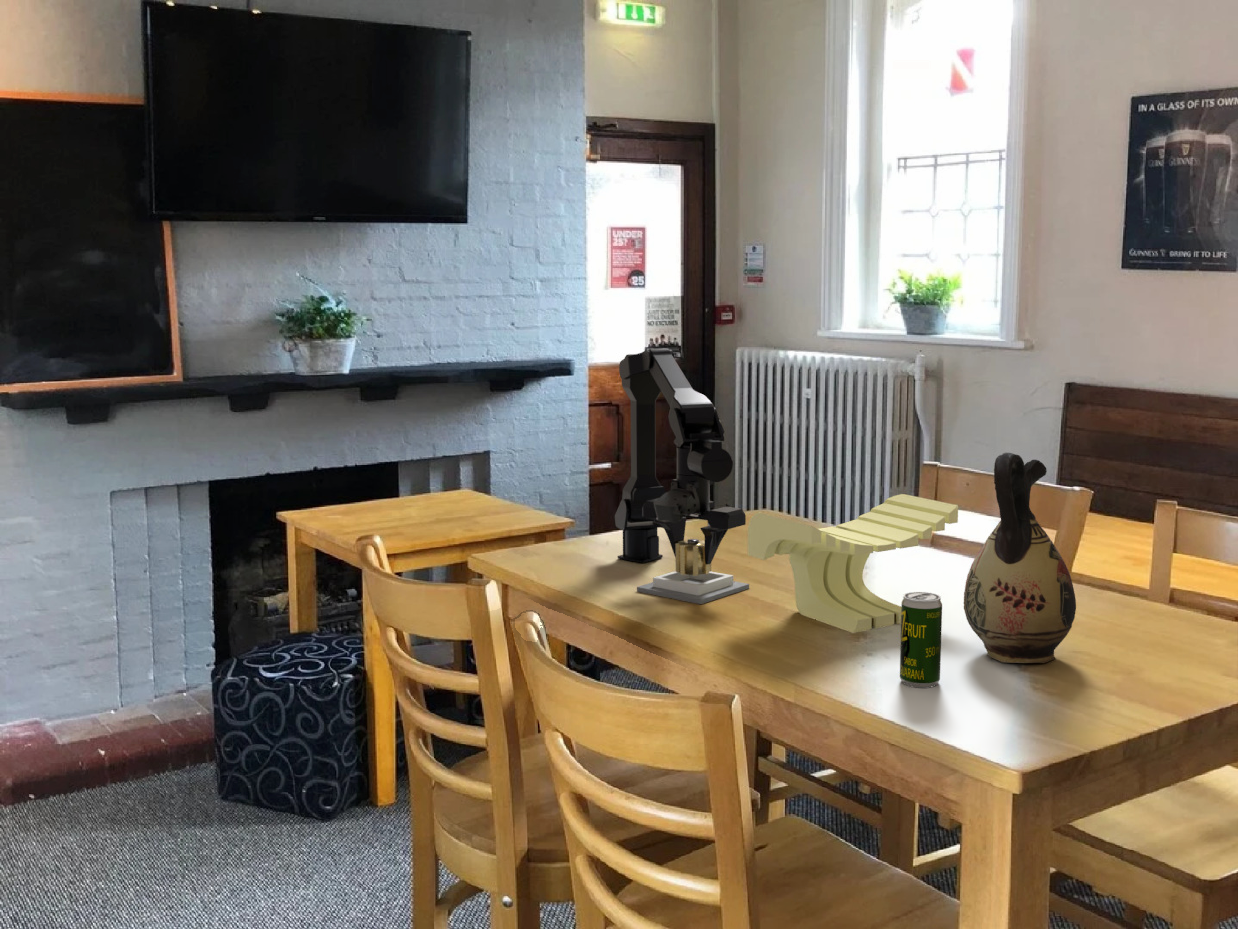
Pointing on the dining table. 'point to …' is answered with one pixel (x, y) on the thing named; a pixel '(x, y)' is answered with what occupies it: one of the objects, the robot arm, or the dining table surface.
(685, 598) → the carrier plate
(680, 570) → the gear
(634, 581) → the dining table surface
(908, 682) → the green soda can
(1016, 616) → the ceramic jug
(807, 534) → the slatted curved stool
